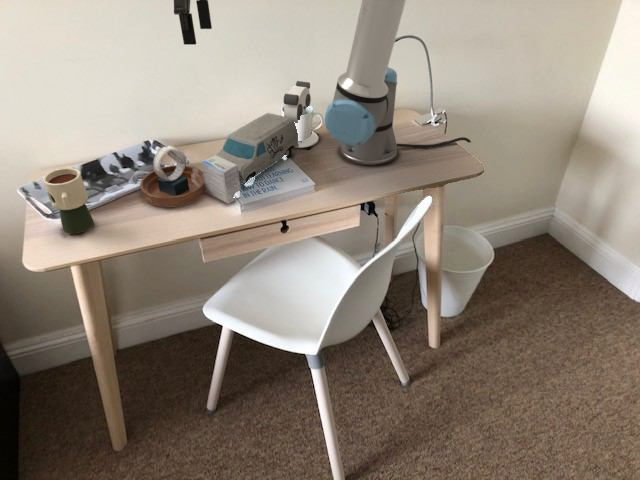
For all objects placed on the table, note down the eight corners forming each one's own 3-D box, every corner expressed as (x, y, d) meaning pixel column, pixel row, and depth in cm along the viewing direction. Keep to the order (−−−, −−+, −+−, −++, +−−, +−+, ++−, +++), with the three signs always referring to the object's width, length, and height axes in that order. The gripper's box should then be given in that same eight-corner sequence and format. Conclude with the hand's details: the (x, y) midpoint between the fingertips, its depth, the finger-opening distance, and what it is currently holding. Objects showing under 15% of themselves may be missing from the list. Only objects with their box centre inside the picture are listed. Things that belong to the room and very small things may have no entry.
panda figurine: (310, 151, 142) (309, 98, 133) (271, 145, 145) (268, 93, 135) (323, 133, 151) (323, 82, 142) (286, 128, 154) (284, 77, 145)
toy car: (210, 180, 130) (205, 143, 124) (268, 142, 146) (266, 108, 140) (244, 192, 125) (240, 155, 119) (300, 151, 142) (299, 116, 136)
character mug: (62, 217, 116) (43, 166, 108) (96, 211, 118) (80, 160, 110) (61, 245, 108) (40, 192, 100) (97, 238, 110) (80, 186, 102)
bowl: (213, 177, 131) (212, 166, 129) (197, 210, 119) (195, 199, 117) (155, 174, 132) (153, 163, 130) (133, 207, 120) (130, 195, 118)
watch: (195, 185, 127) (188, 144, 120) (170, 200, 121) (162, 158, 115) (178, 179, 129) (170, 138, 122) (153, 193, 124) (144, 151, 117)
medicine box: (242, 197, 123) (238, 164, 118) (227, 205, 121) (223, 172, 115) (220, 185, 127) (215, 154, 122) (205, 193, 125) (200, 161, 120)
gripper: (183, -73, 123) (197, 22, 135) (144, -59, 103) (166, 51, 115) (214, -73, 122) (226, 22, 134) (181, -60, 102) (199, 51, 114)
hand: (198, 36), depth 125 cm, fingers open, 13 cm apart
